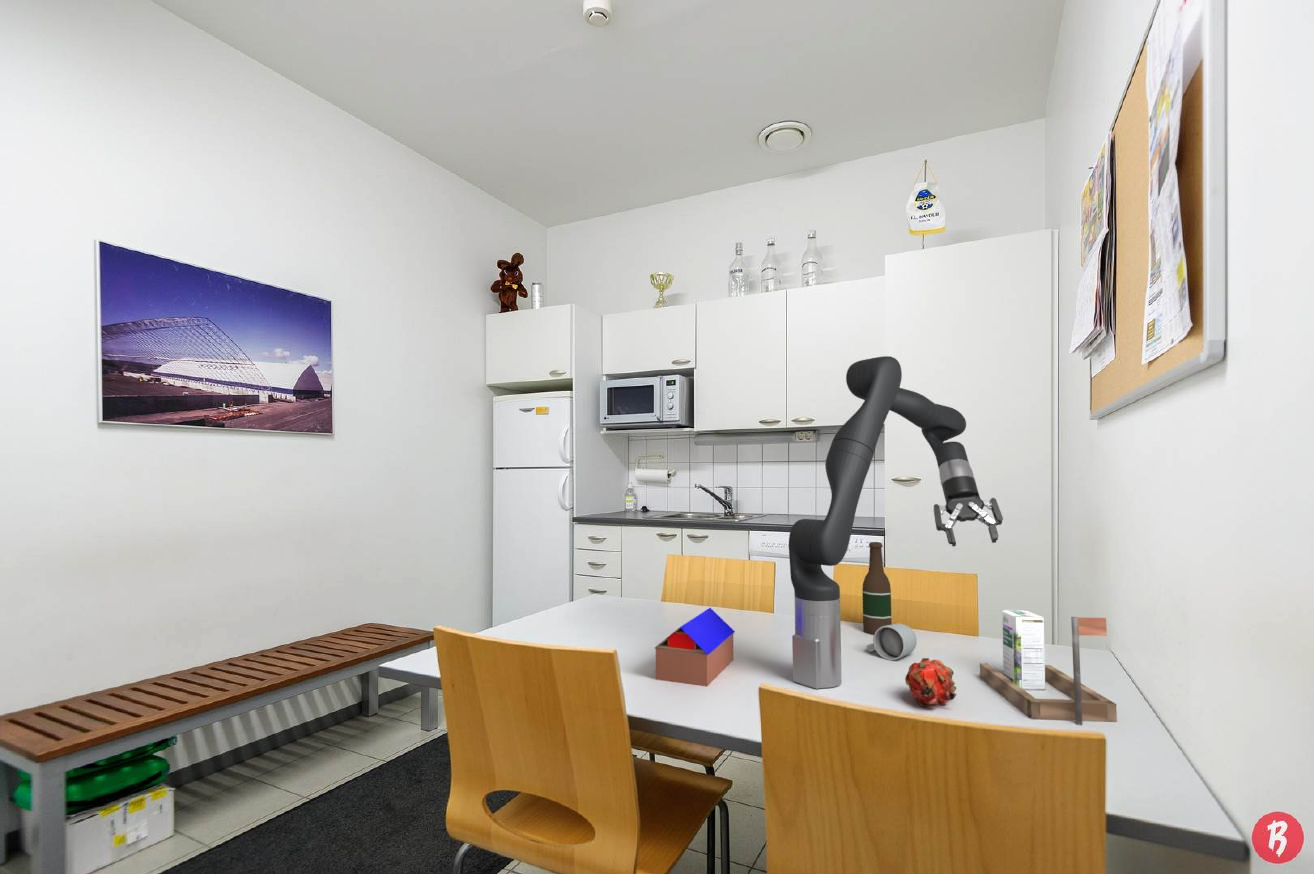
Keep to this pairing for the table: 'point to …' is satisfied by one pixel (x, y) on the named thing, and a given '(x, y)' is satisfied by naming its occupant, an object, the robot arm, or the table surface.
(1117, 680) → the table surface
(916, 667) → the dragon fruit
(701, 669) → the house
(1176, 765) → the table surface
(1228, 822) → the table surface
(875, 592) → the beer bottle
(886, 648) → the ceramic mug
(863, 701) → the table surface
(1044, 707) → the wooden frame with flag
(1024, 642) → the syrup box
